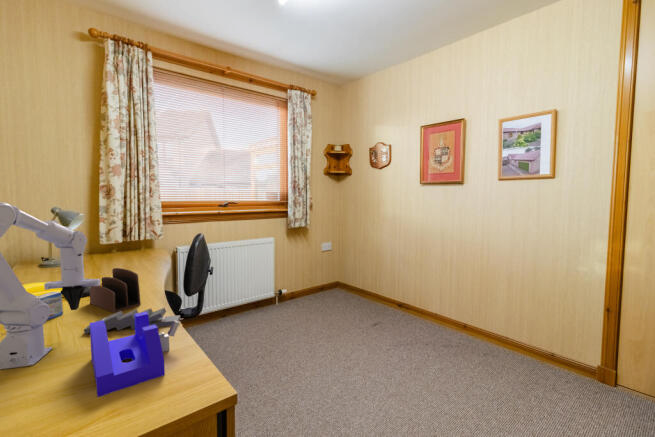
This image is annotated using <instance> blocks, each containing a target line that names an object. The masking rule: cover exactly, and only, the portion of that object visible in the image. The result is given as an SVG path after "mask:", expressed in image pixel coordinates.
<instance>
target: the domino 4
mask: <svg viewBox="0 0 655 437" xmlns="http://www.w3.org/2000/svg"><path fill="white" fill-rule="evenodd" d="M166 313H167V310H166V307H162V308H160V309H157V310H156V311H153V312H152V314H151V315H150V316H149V317H148V318H149V322H152V321H154V320H157V319H159V318H162V317H165V316H164V315H165V314H166ZM130 328H131V330H135V324H132V325H130Z"/></svg>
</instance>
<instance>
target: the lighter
mask: <svg viewBox="0 0 655 437" xmlns="http://www.w3.org/2000/svg"><path fill="white" fill-rule="evenodd" d="M179 325H180V321H175V320H174V321H173V323H172V325H171V326H170V328H169V329H168V331H167V332H168V333H166V334H165V332H159V337H160V342H161V347H162V352H168V351H170V337H175V335H176V332H177V330H178V327H179Z"/></svg>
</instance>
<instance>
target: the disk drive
mask: <svg viewBox="0 0 655 437" xmlns="http://www.w3.org/2000/svg"><path fill="white" fill-rule="evenodd" d="M85 297H87V298H88V297H90V286H86V288H85V290H84V292H83V294H82V296H81V298H85Z"/></svg>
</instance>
